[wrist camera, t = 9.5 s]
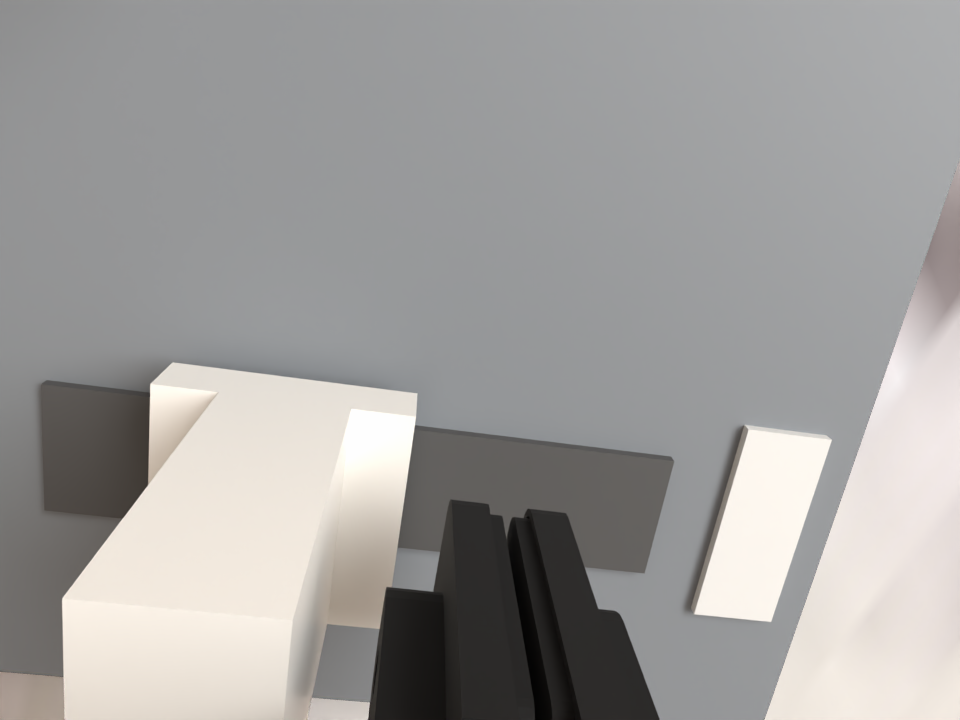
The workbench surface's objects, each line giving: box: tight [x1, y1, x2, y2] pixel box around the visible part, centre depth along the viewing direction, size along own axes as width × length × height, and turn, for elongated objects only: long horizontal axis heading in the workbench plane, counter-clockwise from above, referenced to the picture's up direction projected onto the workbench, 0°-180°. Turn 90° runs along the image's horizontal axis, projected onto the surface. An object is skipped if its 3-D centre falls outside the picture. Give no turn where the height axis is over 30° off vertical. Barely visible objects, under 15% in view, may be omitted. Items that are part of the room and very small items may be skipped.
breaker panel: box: [0, 0, 960, 720], centre depth 12 cm, size 24×18×2 cm
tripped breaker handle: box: [62, 362, 417, 720], centre depth 10 cm, size 4×4×6 cm
